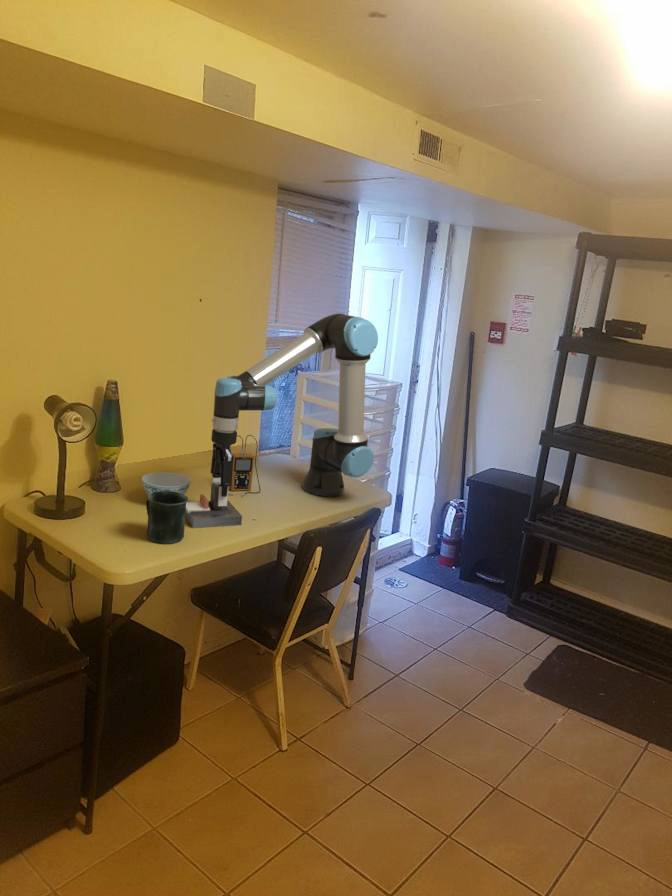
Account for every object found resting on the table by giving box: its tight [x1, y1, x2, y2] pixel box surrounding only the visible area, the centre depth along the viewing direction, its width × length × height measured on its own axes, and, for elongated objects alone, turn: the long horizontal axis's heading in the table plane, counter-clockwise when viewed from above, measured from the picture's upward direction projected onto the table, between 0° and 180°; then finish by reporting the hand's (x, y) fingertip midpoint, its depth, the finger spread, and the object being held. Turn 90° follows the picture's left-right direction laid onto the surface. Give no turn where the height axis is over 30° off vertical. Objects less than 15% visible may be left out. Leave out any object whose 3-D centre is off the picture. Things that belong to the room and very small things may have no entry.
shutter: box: [186, 494, 210, 513], centre depth 212 cm, size 7×7×3 cm
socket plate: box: [185, 499, 243, 529], centre depth 214 cm, size 15×14×4 cm
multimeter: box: [228, 434, 261, 498], centre depth 238 cm, size 15×10×20 cm
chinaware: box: [141, 471, 191, 496], centre depth 222 cm, size 15×15×8 cm
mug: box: [145, 491, 189, 545], centre depth 196 cm, size 11×15×12 cm
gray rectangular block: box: [209, 482, 226, 510], centre depth 215 cm, size 4×4×11 cm
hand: (218, 501), depth 215 cm, fingers open, 6 cm apart
